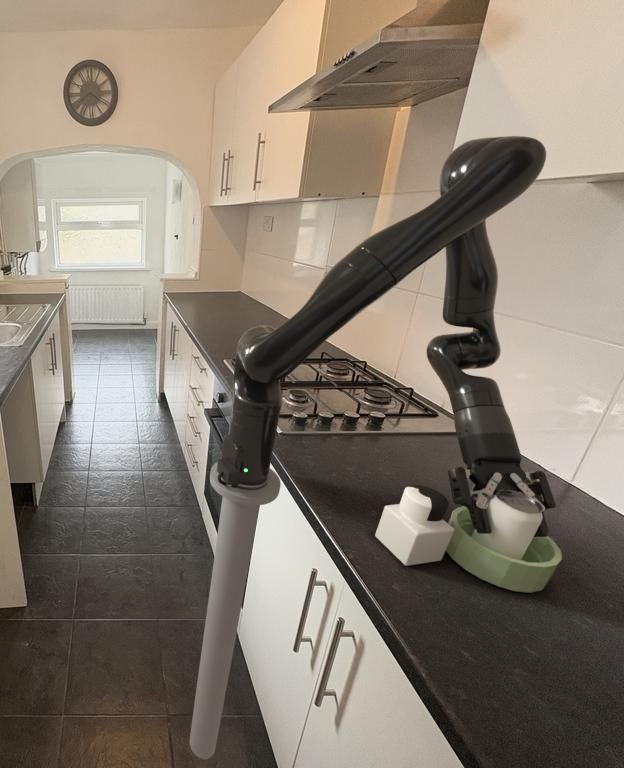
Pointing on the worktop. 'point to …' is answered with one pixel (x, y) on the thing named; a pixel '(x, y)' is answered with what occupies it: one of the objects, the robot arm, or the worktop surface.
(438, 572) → the worktop surface
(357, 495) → the worktop surface
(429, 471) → the worktop surface
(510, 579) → the shallow round dish
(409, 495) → the medicine bottle
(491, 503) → the can
